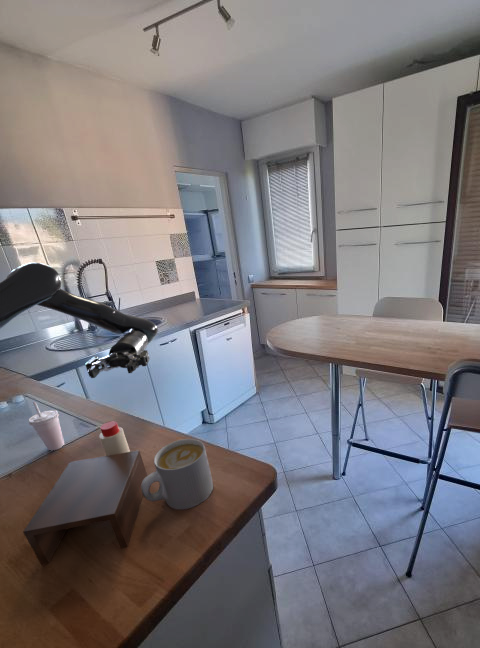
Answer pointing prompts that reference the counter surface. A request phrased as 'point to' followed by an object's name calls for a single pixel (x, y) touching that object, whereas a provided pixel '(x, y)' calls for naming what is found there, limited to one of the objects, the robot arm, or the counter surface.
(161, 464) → the coffee mug
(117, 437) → the spice bottle
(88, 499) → the shelf
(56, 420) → the smoothie
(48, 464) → the counter surface
